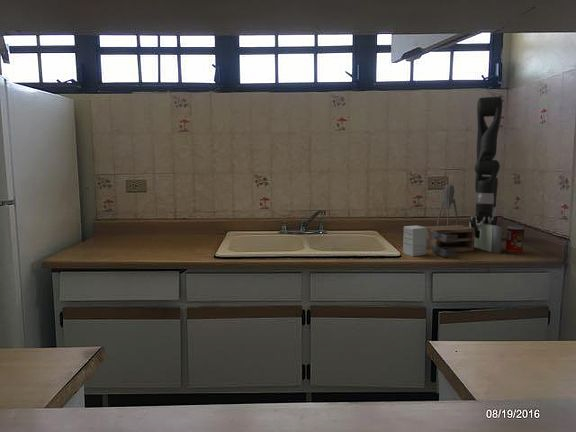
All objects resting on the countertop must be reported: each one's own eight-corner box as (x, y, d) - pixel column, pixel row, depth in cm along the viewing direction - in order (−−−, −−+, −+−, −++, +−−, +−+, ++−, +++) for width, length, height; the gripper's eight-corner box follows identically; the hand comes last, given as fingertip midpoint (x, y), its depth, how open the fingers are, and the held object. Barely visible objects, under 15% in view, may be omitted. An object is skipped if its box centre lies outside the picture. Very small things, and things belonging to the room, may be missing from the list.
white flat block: (495, 253, 203) (497, 227, 201) (467, 245, 222) (469, 221, 220) (503, 253, 204) (505, 227, 202) (475, 244, 223) (476, 221, 221)
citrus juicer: (447, 246, 220) (450, 185, 216) (429, 243, 227) (431, 184, 223) (458, 242, 227) (461, 184, 223) (440, 240, 235) (443, 183, 231)
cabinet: (419, 248, 214) (419, 226, 213) (459, 245, 220) (460, 224, 218) (444, 258, 194) (446, 234, 193) (488, 255, 200) (489, 232, 198)
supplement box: (415, 251, 207) (416, 225, 205) (426, 255, 200) (427, 227, 198) (402, 253, 204) (403, 226, 203) (412, 256, 198) (413, 228, 196)
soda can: (513, 254, 201) (515, 227, 199) (502, 251, 207) (503, 225, 206) (526, 253, 203) (528, 227, 201) (514, 250, 209) (516, 224, 208)
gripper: (492, 201, 216) (490, 236, 218) (466, 201, 212) (464, 237, 214) (503, 203, 208) (500, 238, 210) (476, 203, 205) (474, 239, 207)
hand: (482, 237), depth 212 cm, fingers open, 5 cm apart
